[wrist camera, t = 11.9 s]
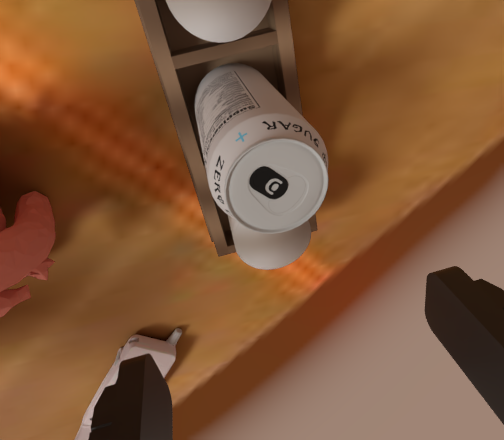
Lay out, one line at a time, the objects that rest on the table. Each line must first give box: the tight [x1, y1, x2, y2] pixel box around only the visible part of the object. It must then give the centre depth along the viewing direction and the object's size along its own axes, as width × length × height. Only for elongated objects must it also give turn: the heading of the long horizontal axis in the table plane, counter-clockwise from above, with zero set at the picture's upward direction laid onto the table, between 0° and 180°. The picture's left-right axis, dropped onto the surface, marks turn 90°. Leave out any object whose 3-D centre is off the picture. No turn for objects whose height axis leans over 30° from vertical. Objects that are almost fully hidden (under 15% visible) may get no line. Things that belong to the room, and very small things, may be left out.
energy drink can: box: [194, 63, 328, 234], centre depth 24 cm, size 6×6×15 cm
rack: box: [135, 0, 317, 270], centre depth 27 cm, size 25×10×10 cm, turn 11°
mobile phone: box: [75, 328, 182, 440], centre depth 45 cm, size 6×6×25 cm
